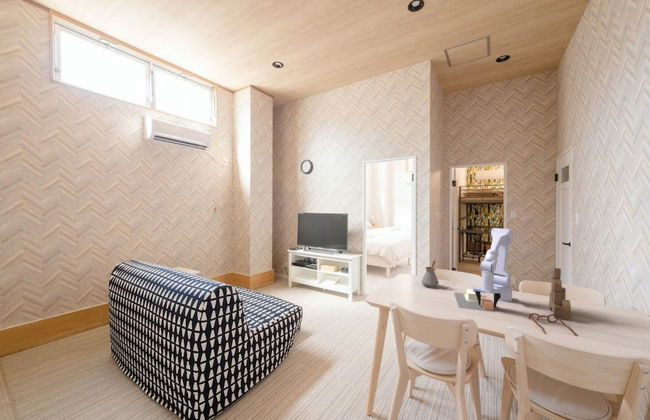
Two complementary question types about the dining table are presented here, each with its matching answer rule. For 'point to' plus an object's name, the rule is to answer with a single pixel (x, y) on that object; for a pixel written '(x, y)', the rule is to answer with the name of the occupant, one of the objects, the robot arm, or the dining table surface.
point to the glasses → (549, 321)
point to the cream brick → (471, 294)
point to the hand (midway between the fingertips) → (487, 305)
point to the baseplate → (469, 303)
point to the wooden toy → (559, 297)
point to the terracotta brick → (487, 303)
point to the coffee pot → (430, 277)
